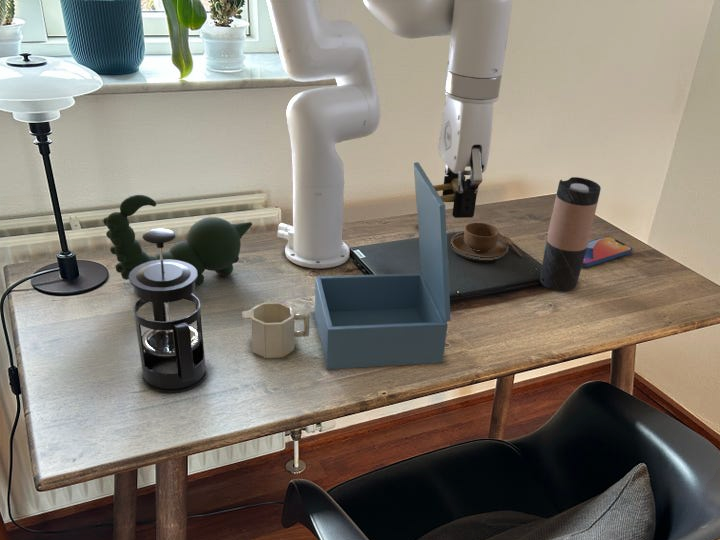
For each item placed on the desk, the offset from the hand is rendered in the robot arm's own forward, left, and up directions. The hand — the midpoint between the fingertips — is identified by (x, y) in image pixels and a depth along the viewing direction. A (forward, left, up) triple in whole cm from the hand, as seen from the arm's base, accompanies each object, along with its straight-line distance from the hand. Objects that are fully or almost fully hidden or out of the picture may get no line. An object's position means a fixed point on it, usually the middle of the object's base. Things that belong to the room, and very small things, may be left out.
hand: (457, 207), depth 112 cm
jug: (-22, -17, -23) cm, 36 cm away
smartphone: (+17, +47, -23) cm, 54 cm away
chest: (-9, -6, -23) cm, 25 cm away
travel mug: (+13, +30, -23) cm, 40 cm away
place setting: (-8, +37, -23) cm, 44 cm away
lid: (-3, -2, -6) cm, 7 cm away
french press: (-30, -31, -23) cm, 49 cm away
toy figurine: (-46, -7, -23) cm, 52 cm away
